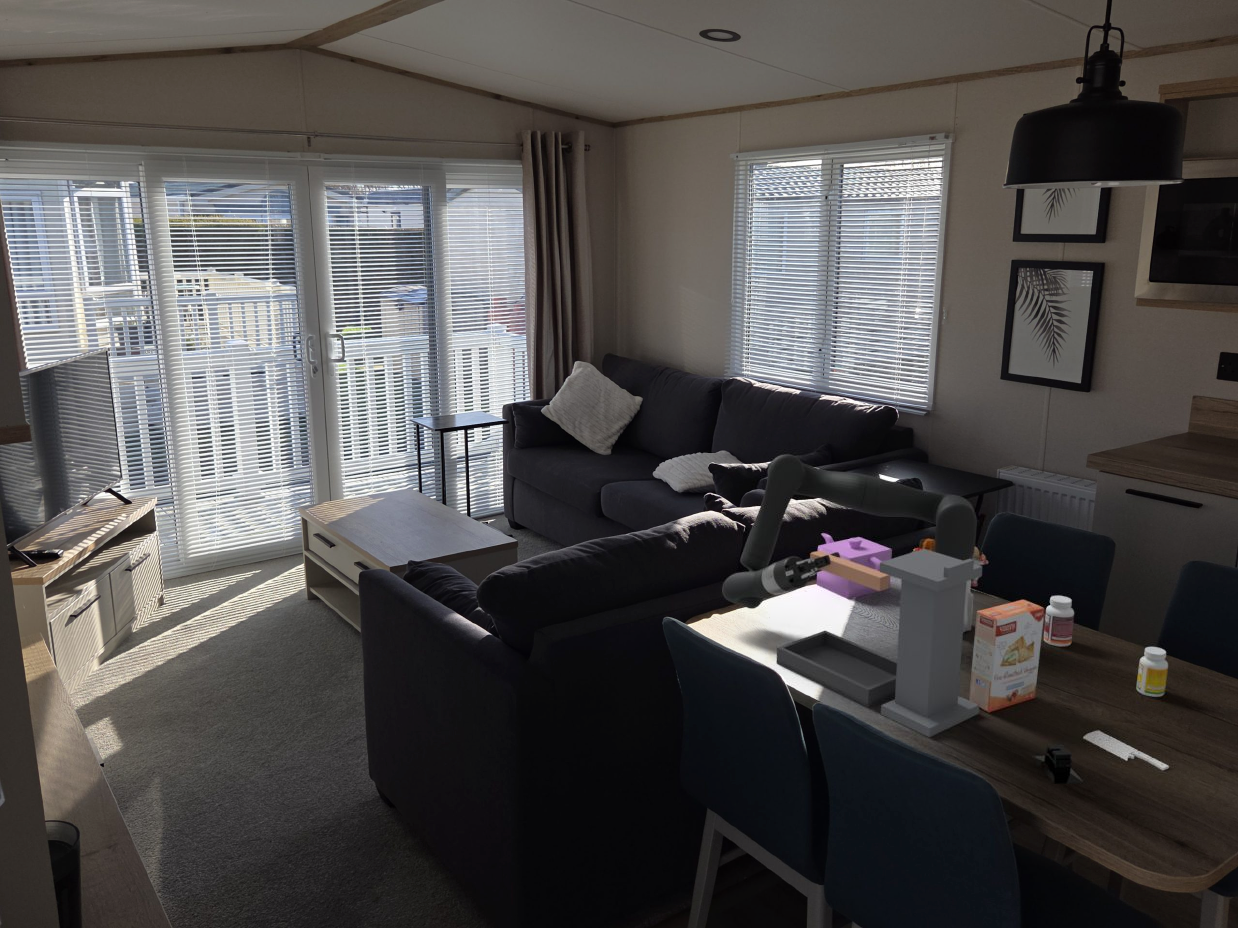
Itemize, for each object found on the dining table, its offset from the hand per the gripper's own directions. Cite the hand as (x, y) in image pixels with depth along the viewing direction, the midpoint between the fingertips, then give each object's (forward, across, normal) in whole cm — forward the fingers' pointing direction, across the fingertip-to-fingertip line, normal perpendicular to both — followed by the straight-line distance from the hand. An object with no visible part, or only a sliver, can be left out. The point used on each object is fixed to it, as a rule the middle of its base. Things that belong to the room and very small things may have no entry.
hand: (833, 557), depth 218 cm
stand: (+9, 0, +36) cm, 37 cm away
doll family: (-29, +66, +14) cm, 74 cm away
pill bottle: (+7, +54, +35) cm, 64 cm away
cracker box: (+15, +17, +40) cm, 46 cm away
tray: (-9, 0, +25) cm, 27 cm away
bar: (+2, 0, +5) cm, 5 cm away
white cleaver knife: (+38, +17, +53) cm, 67 cm away
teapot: (-42, +44, +7) cm, 61 cm away
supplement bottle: (+30, +46, +48) cm, 72 cm away
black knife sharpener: (+34, +1, +51) cm, 61 cm away
